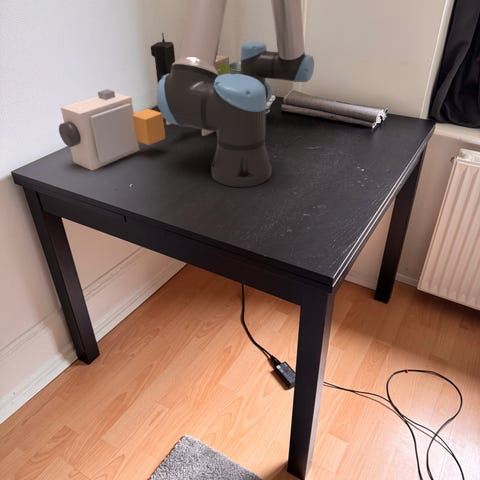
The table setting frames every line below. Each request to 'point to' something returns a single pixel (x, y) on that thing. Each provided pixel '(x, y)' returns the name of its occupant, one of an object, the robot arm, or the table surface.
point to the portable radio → (163, 58)
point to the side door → (125, 130)
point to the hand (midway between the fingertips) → (184, 125)
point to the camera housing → (89, 127)
